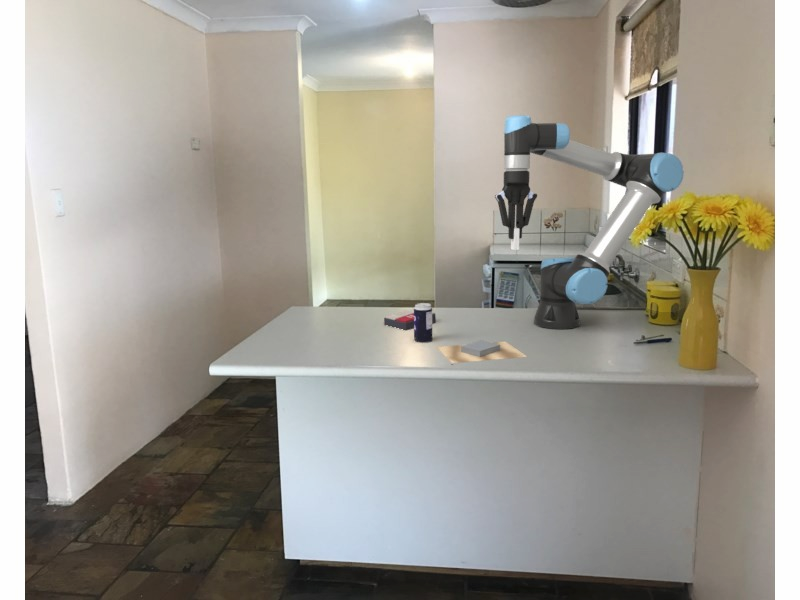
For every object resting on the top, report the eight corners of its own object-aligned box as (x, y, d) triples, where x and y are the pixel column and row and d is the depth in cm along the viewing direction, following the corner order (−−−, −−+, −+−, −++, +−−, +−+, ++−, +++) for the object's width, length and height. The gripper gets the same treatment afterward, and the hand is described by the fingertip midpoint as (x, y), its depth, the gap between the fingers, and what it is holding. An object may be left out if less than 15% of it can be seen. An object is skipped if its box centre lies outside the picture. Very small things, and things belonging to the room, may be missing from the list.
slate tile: (481, 340, 175) (461, 346, 169) (500, 344, 170) (479, 351, 164) (481, 345, 176) (461, 352, 170) (500, 350, 171) (479, 357, 165)
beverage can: (426, 338, 187) (426, 302, 184) (435, 343, 182) (435, 305, 179) (410, 341, 184) (410, 304, 182) (419, 345, 179) (419, 307, 177)
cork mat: (505, 343, 180) (505, 341, 180) (527, 358, 165) (527, 356, 165) (436, 348, 176) (436, 346, 175) (451, 365, 160) (451, 363, 160)
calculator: (383, 315, 204) (413, 306, 214) (384, 327, 205) (414, 318, 215) (405, 321, 196) (435, 311, 206) (406, 333, 197) (436, 323, 207)
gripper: (531, 170, 179) (529, 247, 184) (491, 170, 176) (490, 249, 181) (542, 169, 172) (540, 250, 176) (500, 170, 169) (499, 251, 174)
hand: (514, 249), depth 179 cm, fingers closed
